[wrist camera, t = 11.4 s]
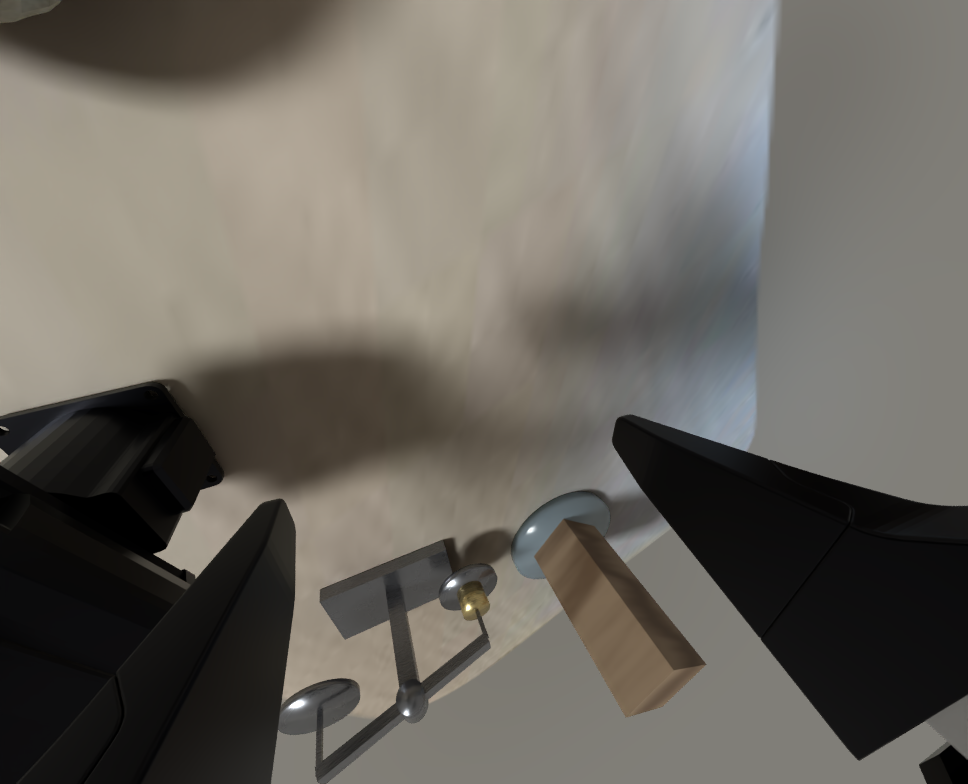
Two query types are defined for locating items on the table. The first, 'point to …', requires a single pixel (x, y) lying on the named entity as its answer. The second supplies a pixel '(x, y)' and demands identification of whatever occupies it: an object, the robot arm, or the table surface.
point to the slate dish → (545, 522)
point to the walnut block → (617, 619)
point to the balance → (372, 604)
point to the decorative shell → (24, 9)
